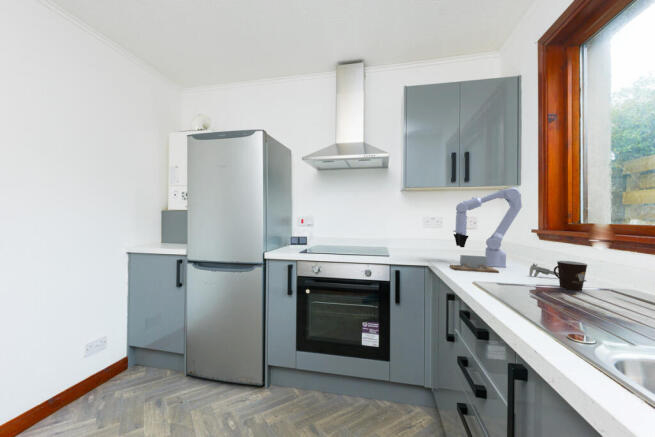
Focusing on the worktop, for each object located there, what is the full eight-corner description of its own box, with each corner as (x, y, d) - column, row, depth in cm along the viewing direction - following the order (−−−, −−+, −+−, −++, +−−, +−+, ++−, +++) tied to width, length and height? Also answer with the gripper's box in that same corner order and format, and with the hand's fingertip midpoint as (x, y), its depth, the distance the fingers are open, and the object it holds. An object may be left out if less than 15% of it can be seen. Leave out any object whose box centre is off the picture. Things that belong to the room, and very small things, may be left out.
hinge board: (490, 268, 140) (491, 262, 140) (498, 272, 130) (499, 266, 130) (449, 266, 144) (449, 260, 144) (454, 270, 134) (454, 263, 134)
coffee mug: (577, 286, 107) (578, 261, 107) (592, 292, 98) (593, 265, 98) (542, 283, 110) (543, 259, 110) (554, 289, 102) (555, 263, 101)
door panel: (485, 268, 136) (485, 256, 136) (487, 268, 135) (487, 256, 134) (460, 266, 139) (460, 254, 139) (461, 267, 137) (461, 255, 137)
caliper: (530, 276, 125) (530, 263, 124) (529, 276, 126) (529, 262, 125) (586, 282, 117) (587, 267, 117) (585, 281, 118) (586, 267, 118)
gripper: (450, 222, 165) (450, 244, 165) (456, 223, 151) (456, 247, 151) (463, 223, 164) (462, 245, 164) (470, 223, 150) (469, 248, 150)
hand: (460, 246), depth 157 cm, fingers open, 7 cm apart
